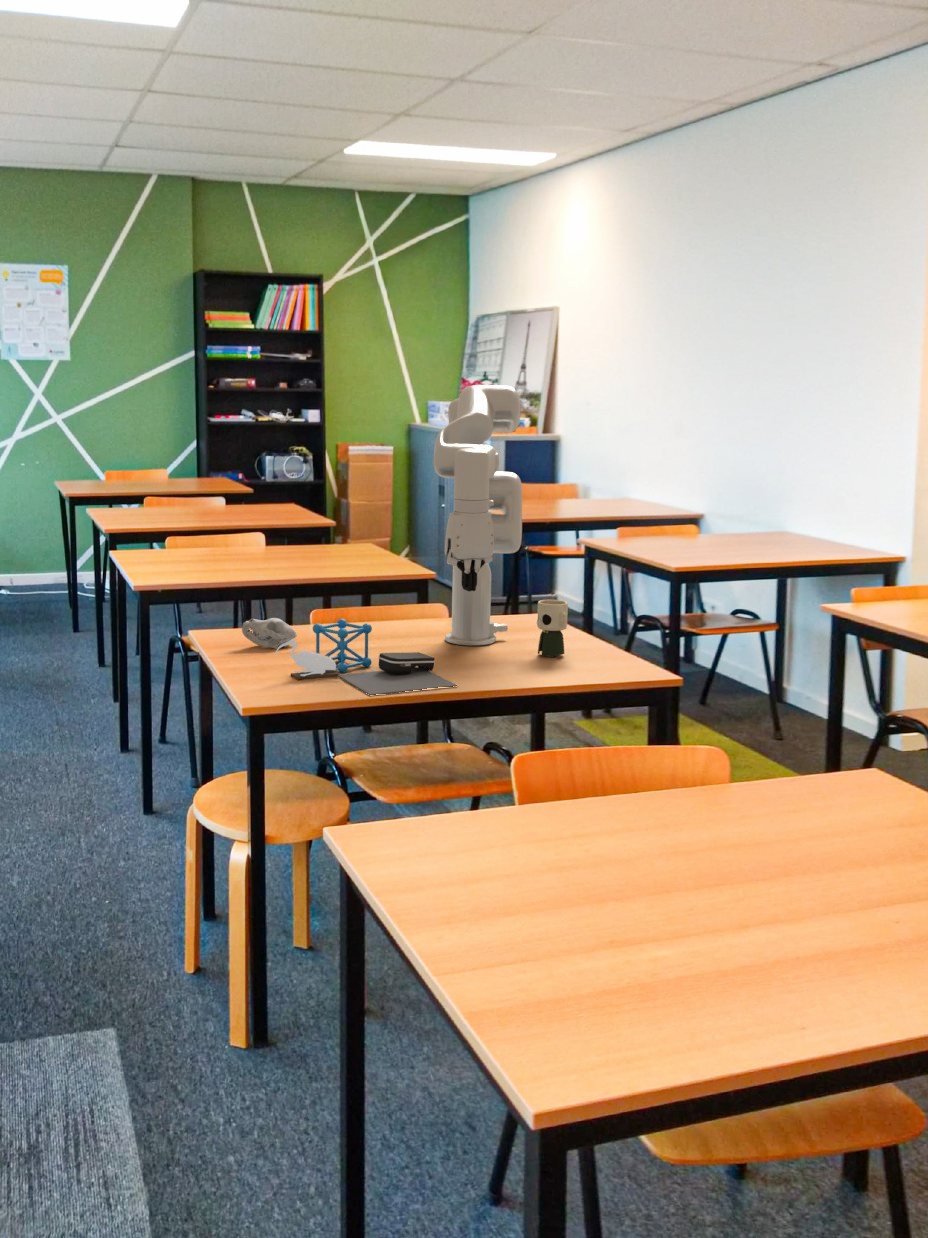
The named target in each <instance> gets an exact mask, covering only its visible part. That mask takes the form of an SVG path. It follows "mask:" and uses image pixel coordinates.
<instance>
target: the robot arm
mask: <svg viewBox="0 0 928 1238" xmlns="http://www.w3.org/2000/svg"><path fill="white" fill-rule="evenodd" d="M447 411H448V412H447V413H448V414H447V417H448V424H446V425H445V426H444V427H442V429H440V430H439V432H438V434H437V435H436V439H435V441H434V442H435V443H434V450H433V461H432V462H433V467H434V472H435V473H436V475H438V476H439V477H441V478H442V479H443V478H444V479H453V511H452V512H450V513H449V514H448V520H447V524H446V530H445V539H444V555H445V556H447V558H446V564H448V565H450V566H452V588H451V589H452V590H451V591H452V592H451V593H452V594H451V595H452V596H451V601H452V602H451V632H448V633H446V634H445V636H444V639H445V641H446V642H448V643H449V644H452V645H453V644H454V645H457V646H459V645H460V646H485V645H491V644H494V643H495V642H496V640H497V636H496V635H495V634H496V633H498V632H499V633H503V632H508V629H509V628H508V625H507V623H500V624H498V623H494V622H492V621H491V607H492V606H491V605H492V604H491V602H492V601H491V597H492V596H491V595H492V571H491V570H492V569H491V567H490V566H489V563H492V562H493V560H494V557H493V554H514V553H516V552H518V551H519V549H521V548H520V547H521V545H522V535H523V534H522V533H523V486H522V485H523V484H522V480H521V478H520V476H519V475H518V474H516V473H515V472H512V471H498V470H499V467H500V455H499V453H498V452H497V449H496V448H495V447H494V446H492V445H488V443H487V442H486V441H488V440H489V439H490V438H491V436H492V434H493V433H494V434H496V433H498V434H511V433H514V432H515V431H516V430H517V429H518V427H519V425H520V419H521V399H520V395H519V392H518V391H517V389H516V388H514V387H513V386H510V385H492V384H489V385H488V384H475V385H469V386H467V387H465V388H464V389H462V390H461V392H460V393H459V396H458V398H456V399H453V400H452V401H450V403H449V405H448V410H447ZM490 511H501V512H502V513H503V514H501V513H497V514H495V513H492V512H490Z"/></svg>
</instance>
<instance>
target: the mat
mask: <svg viewBox="0 0 928 1238" xmlns="http://www.w3.org/2000/svg"><path fill="white" fill-rule="evenodd" d="M337 678H339V679H341V680H342V681H344V682H346V683H347V682H348V683H347V684H349V685H350V686H352V685H353V687H354V688H356V689H357V688H358V689H357V690H359V691H361V692H362V691H363V692H362V693H364V694H366V693H367V694H369V695H376V694H386V695H392V694H391V693H396V694H400V693H399V692H405V691H413V690H422V689H427V688H438V687H453V686H457V687H458V684H456V683H454V682H451V681H450V680H448V679H446V678H443V677H442V676H440V675H438V674H436V673H435V672H433V671H429V670H426V669H423V668H420V667H418V666H416V667H414V668H413V669H411V673H410V674H391V673H389V672H386V671H384V670H373V671H364V672H362V671H361V672H354V673H351V672H350V673H340V675H338V677H337ZM453 688H454V687H453ZM405 693H406V692H405ZM367 694H366V695H367ZM369 695H368V696H369Z"/></svg>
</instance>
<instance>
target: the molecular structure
mask: <svg viewBox="0 0 928 1238" xmlns="http://www.w3.org/2000/svg"><path fill="white" fill-rule="evenodd" d="M347 627H348V628H353V629H348V630H347V629H346V628H347ZM331 628H338V630H334V629H331ZM372 630H373V627H372V625H371V624H369V623H364V624H362V625H360V624H354V623H348V622H347V620H346V619H345V618H339V619H338V620H337V621H336V623H329V624H326V625H325V624H324V625H323V624H321V623H318V622H317V623H315V624H313V625H312V631H313V633H315V639H316V640H315V653H318V654H320V634H322V635H323V636H325V637H326V638H328V639H329V640H331V641H332V642H334V643H335V644H336V647H335V648H333V649H332V650H330V651H329V652H327V653H326V654H325V656H328V657H329V658H331V659H332V660H333V661H336V660H337V661H338V662H340V663H338V664H336V670H337V672H338V673H340V674H346V672H347V671H348V669H350V668H354V667H357V666H358V667H359V666H363V667H364V668H369V667H371V665H372V663H373V662H372V659H371V658H370V657H369V634H371V632H372ZM329 633H330V634H329ZM331 634H334V635H337V637H338V638H339V639H340V640H338V639H336V638H335V637H333V636H332V635H331ZM351 634H354V635H352V636H351V637H349V638H348V639H346V638H347V637H348V635H351ZM362 634H364V657H362V656H361V655H360V654H358V653H357V652H356V651H354V650H353V649H351V648H350V647H348V644H349V643H350V642H352V641H353V640H355V639H356V638H358V637H360V636H361V635H362ZM345 639H346V640H345ZM345 650H346V652H349V653H350V654H352V656H348V655H347V653H346V652H345ZM338 651H339V652H338ZM336 652H337V654H336V656H333V657H332V655H333V654H335V653H336ZM330 656H331V657H330ZM353 656H355V657H353ZM346 660H348V661H351V662H353V663H350V664H347V663H346Z"/></svg>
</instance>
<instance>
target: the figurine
mask: <svg viewBox="0 0 928 1238" xmlns="http://www.w3.org/2000/svg"><path fill="white" fill-rule="evenodd" d="M297 643H298V642H297V641H296V639H292V640H290V641H288V642H286V643H284V644H282V645H280V646H278V649H275V652H274V655H277V654H278V651H279V650H280V649H281V648H282V647H284V646H285V645H289V646H292V648H291V651H290V656H291V658H292V660H293V661H294V664H296V665H297V666H298V667H300V668H303V669H304V670H295V671H294V672H292V673H290V677H291V678H293V679H294V680H297V681H300V682H301V681H308V680H320V679H329V678H339V677H338V675H341V673H340V672H339V671H336V670H337V668H336V665H337V664H336V663H335V660H332V659H331V657H330V656H329V657H328V656H325V655H326V654H325V655H324V654H322V653H319V654H318V653H316V651H315V652H314V651H310V650H300V651H298V652H297V653H296V654H294V652H295V650H296V649H297Z"/></svg>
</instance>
